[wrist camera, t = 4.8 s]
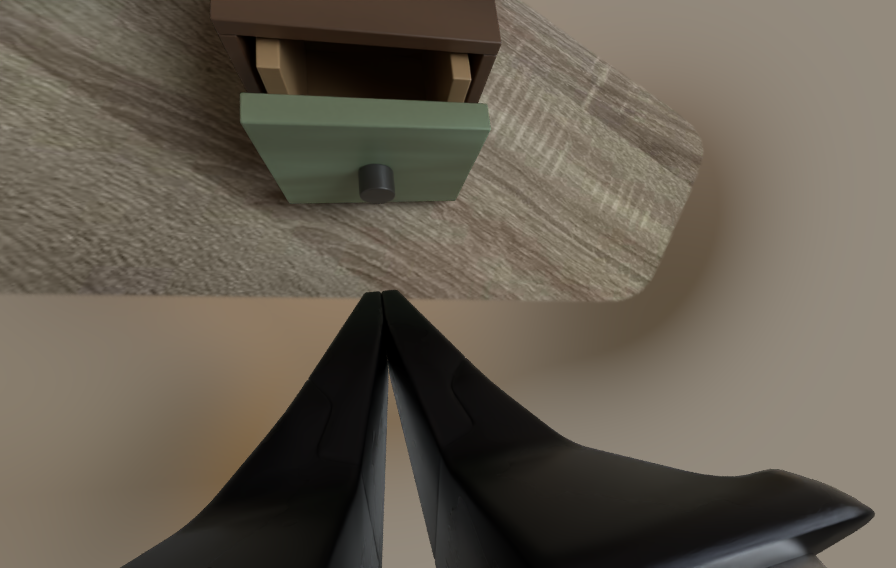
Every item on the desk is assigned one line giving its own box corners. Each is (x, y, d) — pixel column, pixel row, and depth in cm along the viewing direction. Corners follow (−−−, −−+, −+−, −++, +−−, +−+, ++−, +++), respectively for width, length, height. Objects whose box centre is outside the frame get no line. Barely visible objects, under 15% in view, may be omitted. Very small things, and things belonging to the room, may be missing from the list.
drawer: (457, 220, 19) (495, 157, 13) (289, 226, 18) (238, 155, 11) (439, 62, 21) (464, -61, 15) (285, 51, 19) (239, -95, 13)
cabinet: (456, 158, 21) (502, 43, 13) (279, 156, 19) (208, 18, 11) (439, 20, 23) (471, -154, 15) (276, 4, 21) (213, -209, 13)
